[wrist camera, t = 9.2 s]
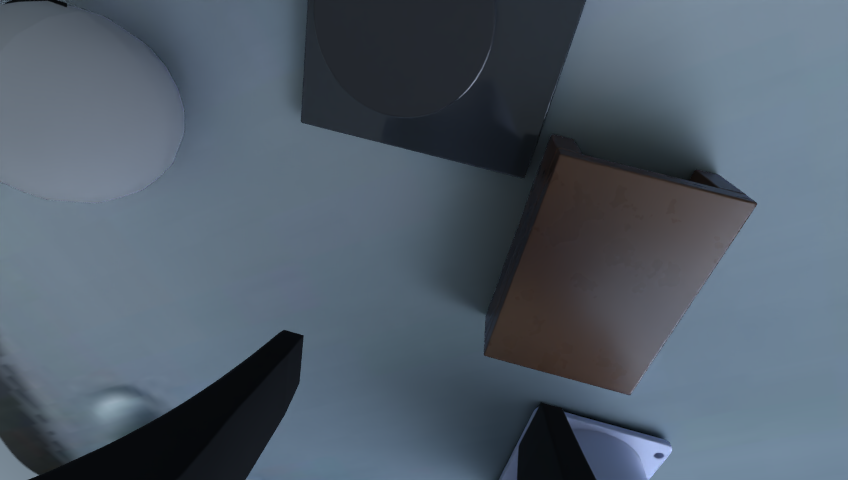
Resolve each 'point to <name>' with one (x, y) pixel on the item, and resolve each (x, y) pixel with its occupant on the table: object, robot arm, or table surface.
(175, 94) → the white ovoid
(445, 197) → the table surface
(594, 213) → the shelf
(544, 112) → the slate pad
